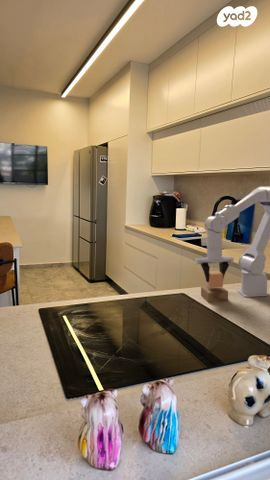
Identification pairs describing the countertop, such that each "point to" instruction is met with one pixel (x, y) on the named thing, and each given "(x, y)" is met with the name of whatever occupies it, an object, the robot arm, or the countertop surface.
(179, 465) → the countertop surface
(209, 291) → the walnut block
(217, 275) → the terracotta cube
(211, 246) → the robot arm
